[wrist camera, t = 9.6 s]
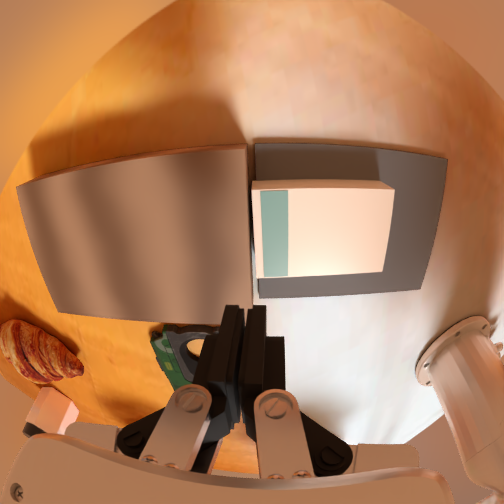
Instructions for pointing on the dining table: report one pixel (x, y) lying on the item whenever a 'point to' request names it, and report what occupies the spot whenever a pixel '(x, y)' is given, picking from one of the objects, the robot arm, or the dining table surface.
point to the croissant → (37, 353)
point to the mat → (402, 222)
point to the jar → (50, 413)
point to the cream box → (320, 226)
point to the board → (146, 235)
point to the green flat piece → (178, 351)
